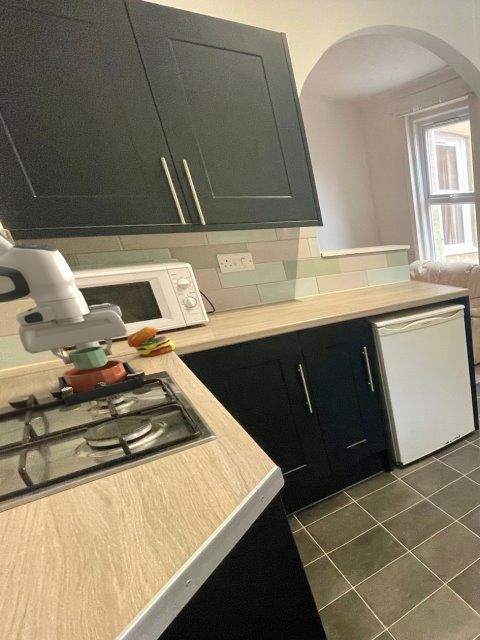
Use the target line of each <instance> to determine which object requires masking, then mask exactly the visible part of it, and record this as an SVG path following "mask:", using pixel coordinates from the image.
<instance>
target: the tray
mask: <svg viewBox="0 0 480 640" xmlns="http://www.w3.org/2000/svg"><path fill="white" fill-rule="evenodd" d="M122 364H123V367H124V369H125V371H126V373H127V375H128V374H136V373H135V371H134V369H133V368H132V367H131V366H130V364H129V363H128V361H125V362H124V361H123V362H122ZM57 379H58V384H59V390H60V389H63V388H64V387H65V388H66V387H69V386H68V384H67V382H66V381H65V379H64V377H63V375H62V376H59V377H57ZM142 387H143V385H142V382H141V380H140V378H139V377H138V376H137V377H135V379H128V378H126V379H125V380H124V381H122V382H120V383H116V384H112V385H108V386H104V387H100V388H96V389H92V390H88V391H84V392H74V391H73V394H72V395H68V396H65V395H64V396H62V395H61V398H62V400H63V402H64V404H65V405H66V407H69V406H74V405H77V404H82V403H85V402H88V401H92V400H96V399H97V400H98V399H101V398H104V397H108V396H111V395H115V394H119V393H123V392H126V391H130V390H134V389H138V388H142Z"/></svg>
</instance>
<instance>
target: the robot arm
mask: <svg viewBox="0 0 480 640" xmlns="http://www.w3.org/2000/svg"><path fill="white" fill-rule="evenodd" d="M29 298H31V299H32V300H33V302H34V303H35V305H36V306H34V307H31V308H29V309H27V310H24V311H21V312H19V313H18V314H16V317H15V319H16V321H17V323H18V324H20V325H19V327H18V334H19V339H20V341H21V344H22V347H23V349H24V351H25V352H26V353H29V354H39V353H44V352H49V351H51V353H52V354H53V355H54V356H56V357H57V358H59V359H61V360H62V361H63V364H64V365H66V366H67V365H70V364H73V363H72V361H71V359H70V357H69V355H67V356H65V355H63V354H62V353H61V350H60V349H63V348H64V349H65V348H69V347H75V346H74V345H79V344H84V343H89V342H94V341H98V342H99V341H104V342H105V344H106V348H103V351H104V353H105V355H106V357H108V356H112V355H113V352H112V350H111V349H112V346H113V339H114V338H119V337H124V336H127V335H128V334H129V329H128V327H127V326H126V324H125V322H124V320H123V319H122V316H123V312H122V310H121V308H120V306H118V305H117V304H114V303H111V302H104V303H100V304H92V305H88V304H87V302H86V299H85V297H84V295H83V293H82V292H81V290H79V288H78V287H77V285H76V279H75V276H74V274H73V272H72V270H71V268H70V266H69V265H68V262H67V261H66V259H65V258H64V257H63V254H62V253H60V251H59V250H58V249H56V248H54V247H52V246H49V245H46V244H45V245H44V244H34V243H32V244H27V243H26V244H25V243H23V244H15V243H14V242H13V241H12V240H10V239H9V238H8V237H7V236H5V235H4V234H3V233H2V232H0V304H1V303H12V302H13V303H14V302H17V301H21V300H26V299H29Z"/></svg>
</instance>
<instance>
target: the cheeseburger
mask: <svg viewBox="0 0 480 640" xmlns="http://www.w3.org/2000/svg"><path fill="white" fill-rule="evenodd" d="M158 332H159V329H157V328H155V327H151V326H144V327H143V328H141V329H140V330H138V331H136V332H134V333H132V334H130V335H128V337H127V345H128V347H129V348H134V349H135V350H136V351H137V352H138V354H139V355H141V356H143V357H154V356H155V357H156V356H159V355H161V354H163V353H167V352H170V351H174V350H175V348H176V345H175V343H174V342H173V341H172V340H171V338H169V337H167V336H165V335H162V336H157V333H158Z"/></svg>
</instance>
